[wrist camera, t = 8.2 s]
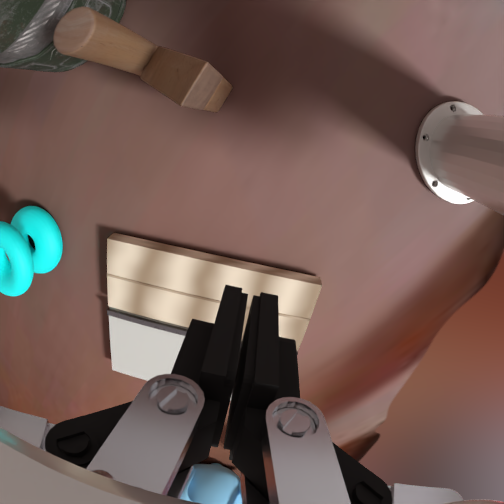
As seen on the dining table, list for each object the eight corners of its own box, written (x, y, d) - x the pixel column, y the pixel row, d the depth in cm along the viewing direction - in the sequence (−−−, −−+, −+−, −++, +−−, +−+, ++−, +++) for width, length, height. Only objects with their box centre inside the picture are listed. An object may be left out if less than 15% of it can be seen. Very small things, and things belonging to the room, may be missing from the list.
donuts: (35, 298, 32) (-9, 301, 33) (75, 264, 41) (30, 271, 42) (7, 218, 28) (-34, 232, 29) (55, 196, 37) (11, 210, 38)
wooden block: (217, 114, 33) (163, 104, 16) (138, 73, 31) (40, 47, 15) (234, 86, 32) (197, 48, 15) (154, 46, 30) (66, 0, 13)
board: (296, 342, 43) (297, 353, 41) (275, 399, 48) (275, 410, 45) (114, 300, 43) (107, 310, 40) (116, 362, 47) (111, 371, 45)
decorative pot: (190, 446, 55) (177, 502, 42) (260, 470, 57) (256, 524, 44) (165, 472, 61) (152, 518, 48) (226, 493, 63) (219, 538, 50)
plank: (319, 277, 39) (322, 285, 37) (297, 340, 43) (298, 350, 41) (114, 232, 38) (106, 238, 36) (114, 298, 42) (107, 306, 40)
